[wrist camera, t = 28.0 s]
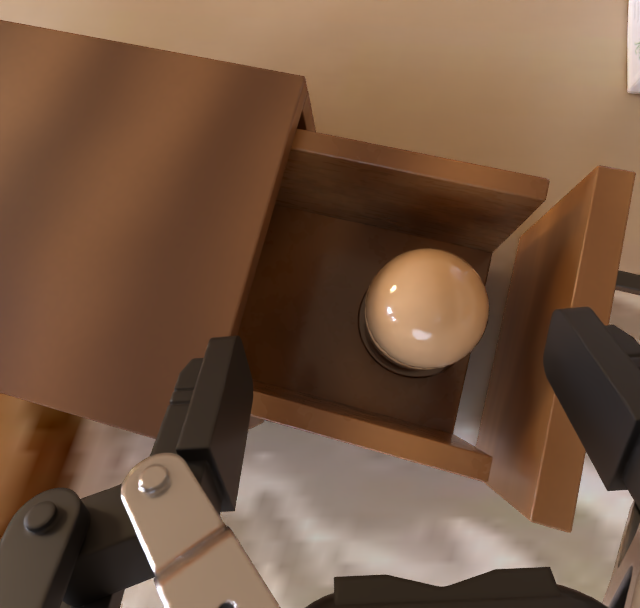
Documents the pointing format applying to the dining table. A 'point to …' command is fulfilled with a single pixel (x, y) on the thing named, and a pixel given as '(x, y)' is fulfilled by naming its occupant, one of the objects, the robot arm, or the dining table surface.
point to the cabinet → (129, 214)
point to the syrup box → (633, 47)
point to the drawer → (446, 388)
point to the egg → (422, 313)
